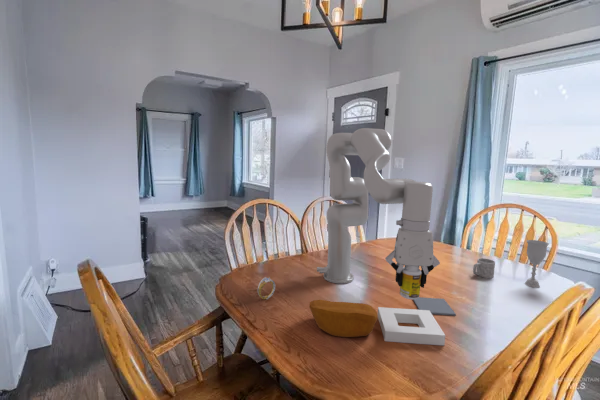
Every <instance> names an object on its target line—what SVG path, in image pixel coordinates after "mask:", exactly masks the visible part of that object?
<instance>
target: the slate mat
mask: <svg viewBox="0 0 600 400" xmlns="http://www.w3.org/2000/svg"><path fill="white" fill-rule="evenodd" d="M412 300H413V302H414V304H415V305H416V307H417V310H430V312H431V314H432V315H436V316H437V315H440V316H452V317H453V316H454V317H455V316H456V315H457V313H456V312H455V310H454V309H453V308H452V307H451V306H450V305H449V303H448V302H447V301H446V300H445V299H444V298H441V297H440V298H434V297H423V296H422V297H421V296H419V298H417V299H412Z"/></svg>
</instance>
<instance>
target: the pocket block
mask: <svg viewBox="0 0 600 400" xmlns="http://www.w3.org/2000/svg"><path fill="white" fill-rule="evenodd" d="M377 314H378V318H377V320H378V322H379V325H380V329H381V332H382V336H383V340H384V342H389V343H390V342H391V343H393V342H394V343H403V344H404V343H405V344H418V345H430V346H431V345H432V346H445V343H446V334H445V332H444V331H443V329H442V328H441V326H440V324H439V323H438V322H437V320H436V318H435V317H434V314H431V312H430V310H419V309H416V308H415V309H414V308H413V309H412V308H411V309H410V308H399V307H395V308H394V307H383V306H382V307H381V306H378V307H377ZM399 323H402V324H416V325H418V326H403V325H399Z"/></svg>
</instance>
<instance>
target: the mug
mask: <svg viewBox="0 0 600 400" xmlns="http://www.w3.org/2000/svg"><path fill="white" fill-rule="evenodd" d="M495 266H496V261H495V260H493V259H490V258H484V257H480V258H477V262H476V263H475V264H473V268H472V273H473V274H474V275H477V277H481V278H484V279H486V278H487V279H492V278H494V275H495Z"/></svg>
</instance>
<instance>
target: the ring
mask: <svg viewBox="0 0 600 400" xmlns="http://www.w3.org/2000/svg"><path fill="white" fill-rule="evenodd" d="M267 283H270V284H271V292H270V293H269V294H268V295H265V296H262V289H263V287H265V285H267ZM275 291H276V283H275V281H274V280H273V279H271V277H270V276H268V277H267V276H264V277H263V278H262V279H261V280H260V281H259V283H258V287H257V295H258V296H259V298H261V299H262V300H269V299H270V298H271V297H272V296H273V295H274V293H275Z"/></svg>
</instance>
